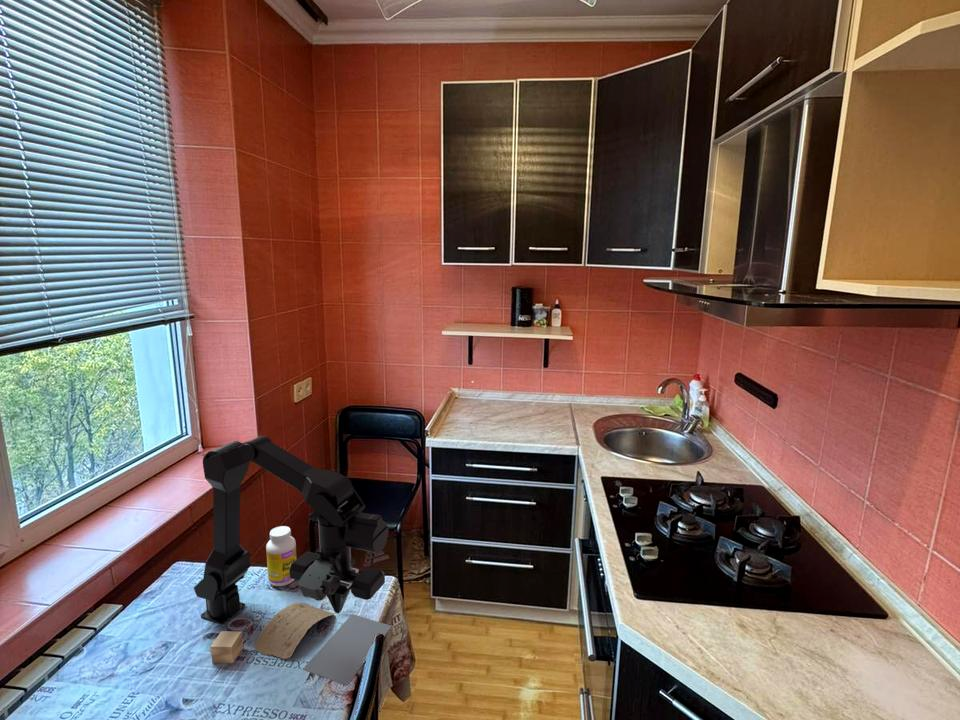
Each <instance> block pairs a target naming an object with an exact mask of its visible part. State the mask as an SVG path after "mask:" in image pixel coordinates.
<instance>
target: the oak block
mask: <svg viewBox="0 0 960 720" xmlns="http://www.w3.org/2000/svg"><path fill="white" fill-rule="evenodd" d="M242 634H243V633H242V631H233V630H232V631H224V630H221V631H220V633H219V634H218V635H217V637H216V638H215V639H214V640H213V642H212V644H211V645H210V654H211V663H212V664H234V662H235V661H236V659H237V658H238V656H239V655H240V653H241V651H242V650H243V648H244V645H243V635H242Z"/></svg>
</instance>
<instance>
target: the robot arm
mask: <svg viewBox="0 0 960 720" xmlns="http://www.w3.org/2000/svg"><path fill="white" fill-rule="evenodd" d="M251 462H252V463H254V464H255V465H257V466H258V467H260V468H262V469H263V470H265V471H267V472H268V473H270V474H271V475H273V476H275V477H276V478H278V479H279V480H281V481H283V482H285V483H286V484H288V485H289V486H291V487H293V488H294V489H296V491H298V492H300V493H301V495H302V498H303V500H304V502H305V503H306V504H307V505H308V506H309V507H310V508H311V509H313V512H311V513H310V514H309V515H308V516H307V519H308V520H312V521H316V522H318V537H319V538H318V540H319V541H318V543H319V544H318V545H319V547H317V549H316V550H315V552H312V551H309V550H308V551H307V550H306V551H305V552H304V553H303V554H301V555H300V556H299V557H297V559H296V560H295V561H294V562H293V563H292V564H291V565H290V567H289V575H290V578H292V579H295V580H296V581H297V582H298V583H297V585H298V588H299V590H300V591H301V594H302V596H303V597H304V598H310V599H312V600H313V599H314V600H315V601H318V602H319V601H323V600H324V599H325V598H326V597H327V599H328V601H329V603H330V605H331V607H332V609H333V611H334V614H335V613H336V614H340V613H341V612H342V611H343V609H344V605H345V603H346V601H347V598H348V596H349V593H350V592H351V594H352V595H353V596H354V597H355V598H357V599H361V600H366V601H368V600H371V599H372V598H373V596H375V595H376V593H377V592H379V590H380V588H382V587H383V585H385V583H386V576H385V575H386V574H385V572H384V571H383V570H381V569H377V568H375V567H370V566H365V568H363V569H362V571H359V570H360V569H358V568H356V567H353V566H355V565H356V559H355V558H352V551H351V550H352V549H356V550H360V551H365V552H368V553H369V552H370V553H373V554H374V553H375V554H379V553H381V552H382V551H383V550H384V548H385V546H386V545H387V542H388V538H389V526H388V523H387V522H386V521H384V520H383V516H382V515H381V514H377V513H376V514H371V513H367V512H362V511H363V510H364V509H365V508H366V504H365V502H363V500H362V498H361V496H360V495H359V494H358V492H357V490H356V489H355V487H354V486H353V485H352V481H351V479H350V478H348V477H347V476H346V475H343V474H341V473H338V472H336V471H333V470H331V469H321V468H320V469H319V468H316V467H315V466H312V465H310V464H309V463H307V462H306V461H304V460H303V459H301V458H299V457H297V456H295V455H294V454H292V453H290V452H289V451H287V450H286V449H283V448H282V447H281V446H279V445H277V444H276V443H274V442H272V440H271V439H270V437H268V436H266V435H260V436H257V437H255V438H253V439H249V440H248V441H245V442H241V441H238V440H233V441H231V442H229V443H226V444H224V445H221V446H219V447H216V448H214V449H212V450H209V451H208V452H207V453H205V454H204V455H203V458H202V468H203V474H204V479H205V480H206V481H207V482H208V484H210V486H211V487H212V492H213V495H212V496H213V499H212V500H213V501H212V502H213V503H212V504H213V505H212V506H213V507H212V508H213V511H212V512H213V513H212V515H213V518H212V520H213V521H212V522H213V523H212V524H213V526H212V527H213V547H212V548H213V549H212V551H211V552H210V554H209V556H208V558H207V560H206V562H205V565H204V571H203V578H202V579H200V581H199V582H198V583H197V584H196V585H195V586H194V587H193V590H194V592H195V595H196V597H197V598H200V599H204V600H205V608H206V610H205V611H204V612H202V613H201V614H200V617H201V618H202V619H205V620H208V621H210V622H212V623H216V624H218V625H224V624H225V623H227V622H228V621H229V620H231V618H233V617H234V616H235V615H236V614H238V613H239V612H240V611H242V610H243V609H244V608H245V607H246V603H244V602H242V601H241V598H240V593H239V587H238V585H237V583H238V582H240V581H241V580H242V579H244V578H245V575H246V573H247V572H248V570H249V568H251V566H252V565H251V562H250V561H251V560H250V558H251V552H250V551H248V550H245V548H243V546H242V545H241V544H240V541H241V540H240V538H241V537H240V532H241V531H240V530H241V520H240V519H241V515H240V514H241V484H242V482H243V481H244V478H245V477H246V475H247V473H248V471H249V468H250V467H249V466H250V463H251ZM347 503H349V505H348V506H347V507H346V508H344V509H343V510H342V509H341V508H342V507H343V506H345V505H346V504H347ZM295 580H294V581H295Z"/></svg>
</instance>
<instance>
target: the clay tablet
mask: <svg viewBox="0 0 960 720" xmlns="http://www.w3.org/2000/svg"><path fill="white" fill-rule="evenodd" d="M333 615H335V612H334V613H333V612H330V611H327V610H323V609H322V608H319V607H317V606H314V605H310V604H308V603H305V602H294V603H292V604H289V605H287V606H285V607H284V608H282V609H281V610H279V611H278V612H277V613H276V614H275V615H274V616H273V617H272V618H271V619H270V620H269V621H268V622H267V624H266V625H265V626H264V627H263V629H262V631H261V632H260V634H259V636H257V639H256V641H255V642H254V643H253V644H254V649H255V650H256V651H257V652H259V653H261V654H262V655H264V656H266V655H270V656H275V657H277V658H280V659H290V658H291V656H292V655H293V653H294V651H295V650H296V647H297V646H298V645H299V644H300V642H301V640H302V638H304V636H305V635H306V634H307V631H308V630H309V629H311V628H312V626H313V625H315V624H316V623H318V622H319V621H321V620H323V619H325V618H327V617H330V616H333Z"/></svg>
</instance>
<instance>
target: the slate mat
mask: <svg viewBox="0 0 960 720" xmlns="http://www.w3.org/2000/svg"><path fill="white" fill-rule="evenodd" d="M391 628H393V626H392V625H390V624H387V623H383V622H380V621H377V620H374V619H370V618H367V617H364V616H360V615H357V614H354V613H352V614H350V616H349V617H348V618H347V619H346V620H345V621H344V622H343V624H341V625H340V627H339V628H338V629H337V630H336V631H335V632H334V633H333V635H332V636H331V637H330V638H329V639H328V640H327V641H326V642H325V643H324V644H323V646H322V647H321V648H320V649H319V650H318V651H317V652H316V654H314V656H313V657H312V658H311V659H310V660H309V661H308V662H307V663H306V665H304V667H303V668H302V670H303V671H306V672H307V673H308V672H309V673H311V674H314V675H316V676H319V677H321V678H324V679H327V680H329V681H330V680H331V681H333V682H336V683H338V684H341V685H344V686H348V685H349V683H351V681H352V680H353V679H354V678H355V676H356V675H357V673H358V672H359V671H360V670H361V668H362V667H363V666H362V665H364V664H363V661H364V658H365V656H366V654H367V653H368V651H369V649H370V647H371V645H372V642H373V639H374V635H376V634H378V633H380V634H383V635H384V638H385V636H387V634H388V633H389V632H390V630H391Z"/></svg>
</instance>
